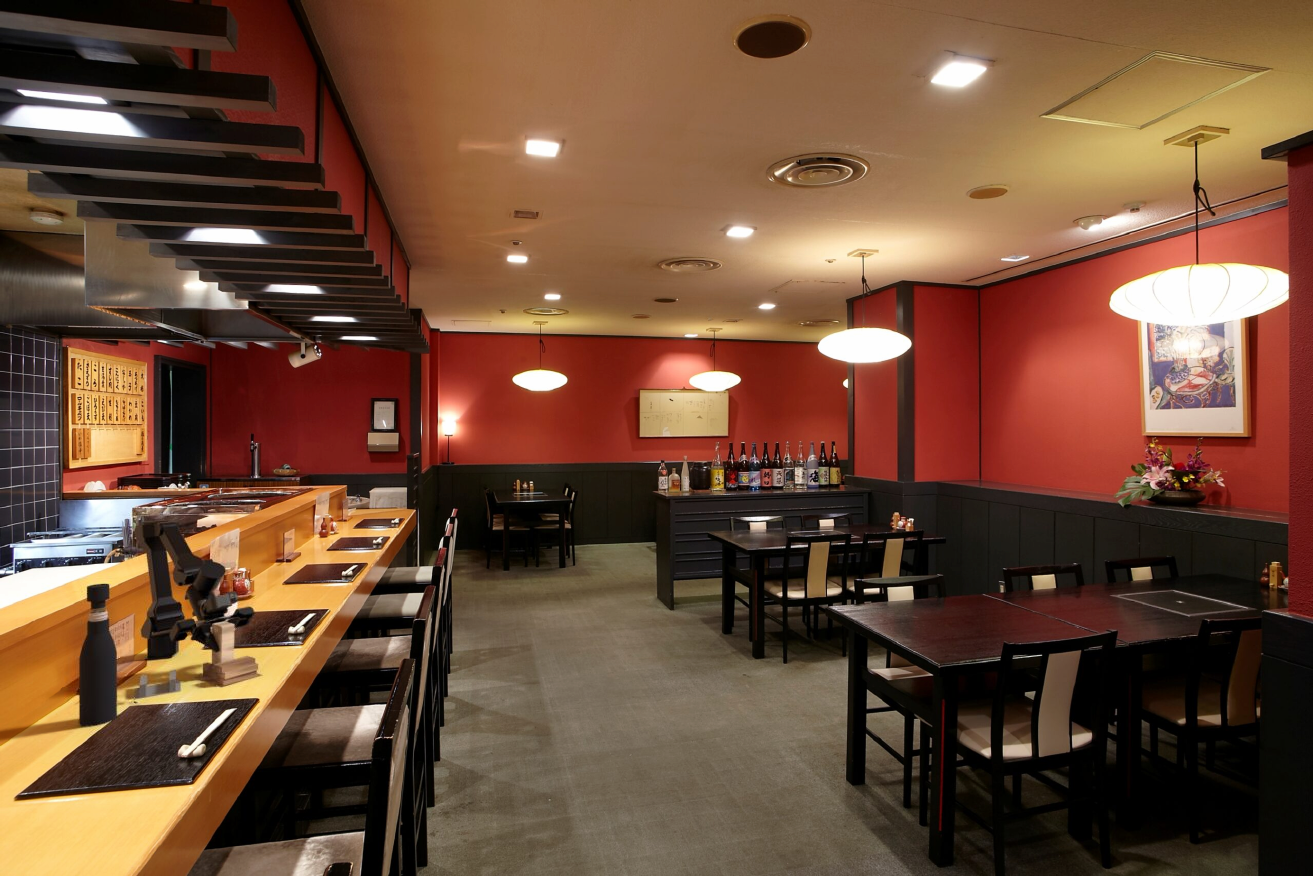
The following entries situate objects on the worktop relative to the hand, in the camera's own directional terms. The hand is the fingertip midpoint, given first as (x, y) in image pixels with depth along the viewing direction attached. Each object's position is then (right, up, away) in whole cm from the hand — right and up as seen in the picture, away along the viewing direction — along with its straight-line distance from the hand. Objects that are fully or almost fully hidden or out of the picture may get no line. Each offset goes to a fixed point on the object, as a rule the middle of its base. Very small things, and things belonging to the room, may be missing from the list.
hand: (225, 649), depth 174 cm
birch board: (-1, -7, +1) cm, 7 cm away
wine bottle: (-12, -8, -26) cm, 29 cm away
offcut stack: (+5, -7, -3) cm, 9 cm away
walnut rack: (+2, -8, -1) cm, 8 cm away
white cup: (-29, -8, +45) cm, 54 cm away
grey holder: (-10, -8, -10) cm, 16 cm away
